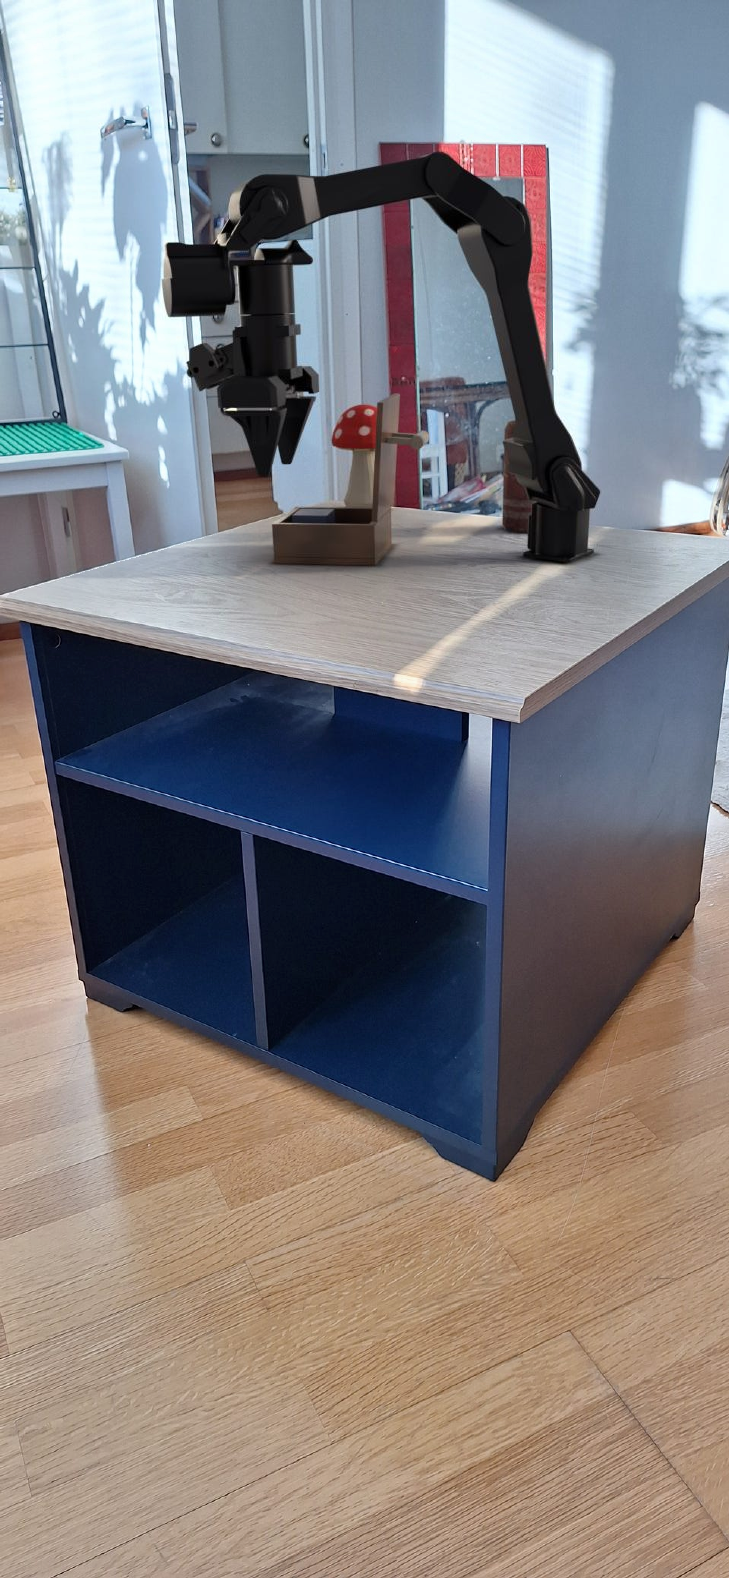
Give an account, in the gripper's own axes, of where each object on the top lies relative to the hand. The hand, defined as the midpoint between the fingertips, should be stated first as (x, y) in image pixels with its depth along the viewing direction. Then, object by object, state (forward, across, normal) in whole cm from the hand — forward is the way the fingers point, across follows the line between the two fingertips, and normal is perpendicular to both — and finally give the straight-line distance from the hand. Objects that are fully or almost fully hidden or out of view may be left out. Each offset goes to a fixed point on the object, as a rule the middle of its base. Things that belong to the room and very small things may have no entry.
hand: (275, 470), depth 121 cm
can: (+13, -33, +25) cm, 44 cm away
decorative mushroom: (+13, -46, +1) cm, 48 cm away
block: (+12, -16, 0) cm, 20 cm away
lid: (+1, -16, +9) cm, 18 cm away
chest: (+12, -16, +3) cm, 20 cm away
